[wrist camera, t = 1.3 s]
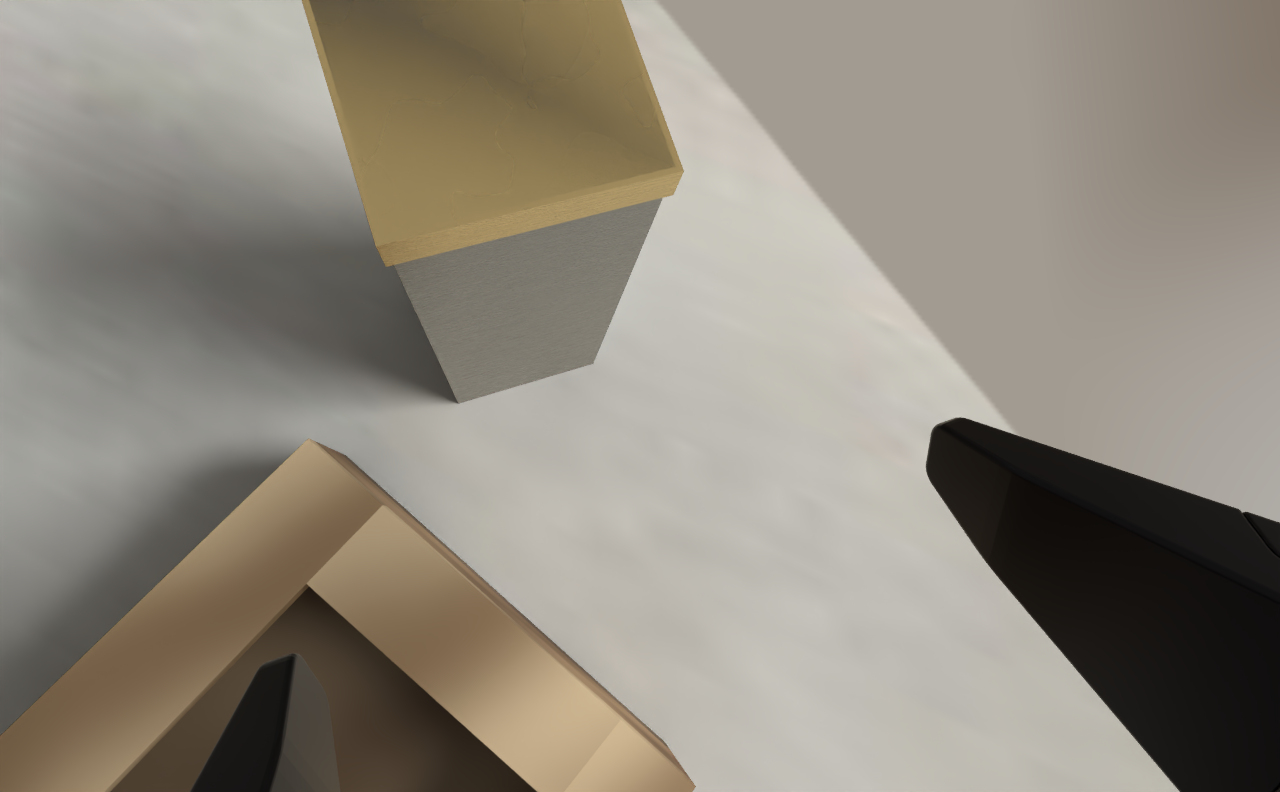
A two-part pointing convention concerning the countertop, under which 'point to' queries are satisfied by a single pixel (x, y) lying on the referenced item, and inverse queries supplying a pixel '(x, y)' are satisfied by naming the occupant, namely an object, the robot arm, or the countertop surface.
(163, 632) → the caddy
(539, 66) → the tea canister
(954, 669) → the countertop surface
